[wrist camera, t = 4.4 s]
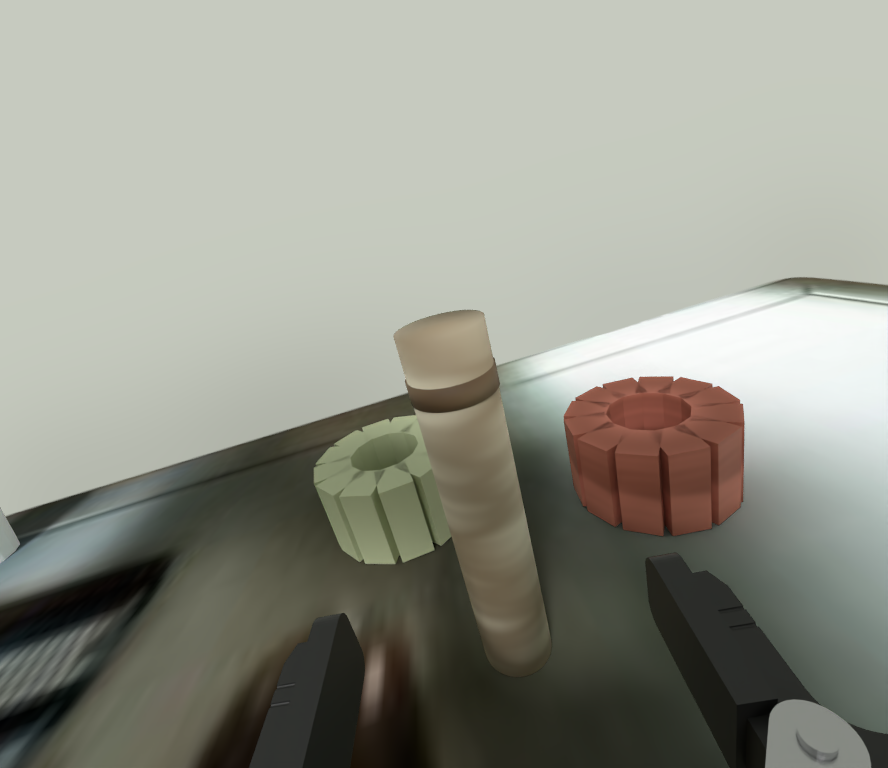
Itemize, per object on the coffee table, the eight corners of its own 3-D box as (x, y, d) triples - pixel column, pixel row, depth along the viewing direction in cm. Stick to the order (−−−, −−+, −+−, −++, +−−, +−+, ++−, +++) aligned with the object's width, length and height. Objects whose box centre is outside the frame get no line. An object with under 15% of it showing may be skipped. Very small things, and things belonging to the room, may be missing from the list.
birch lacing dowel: (487, 684, 19) (387, 349, 13) (480, 619, 21) (396, 323, 16) (560, 671, 18) (490, 326, 13) (544, 608, 21) (481, 303, 16)
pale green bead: (343, 586, 26) (313, 517, 24) (336, 499, 34) (314, 443, 32) (490, 528, 27) (473, 459, 25) (448, 458, 36) (433, 403, 34)
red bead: (603, 549, 24) (593, 471, 22) (559, 457, 32) (549, 395, 30) (782, 515, 23) (788, 431, 21) (689, 430, 31) (686, 365, 30)
